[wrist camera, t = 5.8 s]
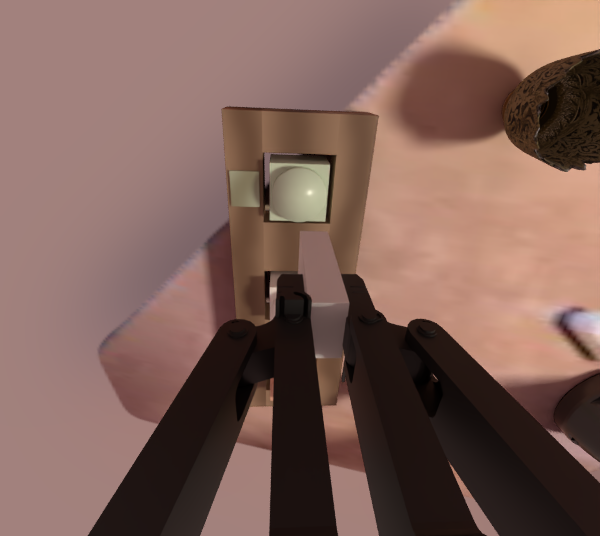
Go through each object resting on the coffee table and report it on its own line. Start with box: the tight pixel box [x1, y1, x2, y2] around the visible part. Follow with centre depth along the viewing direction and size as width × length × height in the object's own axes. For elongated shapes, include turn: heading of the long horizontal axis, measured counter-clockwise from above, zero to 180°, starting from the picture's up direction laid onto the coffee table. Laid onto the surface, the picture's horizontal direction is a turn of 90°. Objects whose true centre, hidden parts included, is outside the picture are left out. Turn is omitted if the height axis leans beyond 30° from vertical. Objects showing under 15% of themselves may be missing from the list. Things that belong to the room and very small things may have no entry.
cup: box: [502, 49, 600, 172], centre depth 25 cm, size 8×7×8 cm
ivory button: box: [270, 271, 298, 321], centre depth 32 cm, size 5×5×4 cm
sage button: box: [270, 154, 330, 222], centre depth 28 cm, size 5×5×4 cm
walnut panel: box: [222, 107, 379, 407], centre depth 34 cm, size 12×34×3 cm, turn 178°
